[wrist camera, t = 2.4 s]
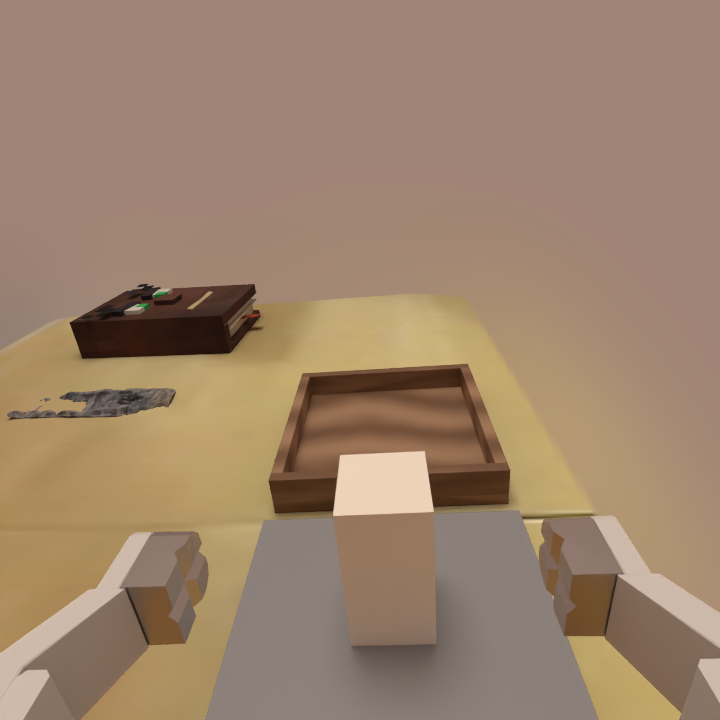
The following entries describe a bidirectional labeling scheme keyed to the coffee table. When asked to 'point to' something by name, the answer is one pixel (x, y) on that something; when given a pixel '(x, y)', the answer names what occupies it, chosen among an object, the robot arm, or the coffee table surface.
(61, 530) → the coffee table surface
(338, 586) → the board
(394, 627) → the tall cream pillar block
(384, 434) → the box
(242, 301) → the decorative book
